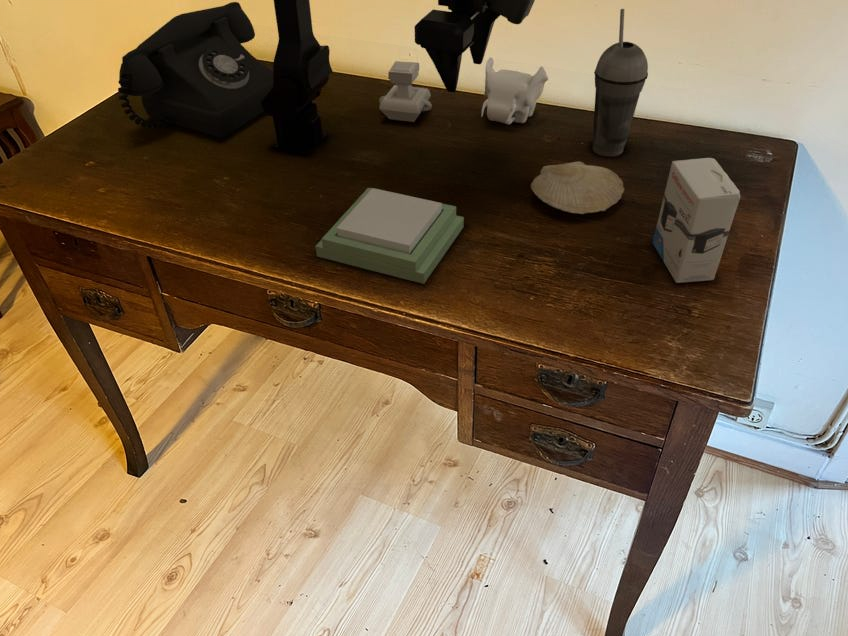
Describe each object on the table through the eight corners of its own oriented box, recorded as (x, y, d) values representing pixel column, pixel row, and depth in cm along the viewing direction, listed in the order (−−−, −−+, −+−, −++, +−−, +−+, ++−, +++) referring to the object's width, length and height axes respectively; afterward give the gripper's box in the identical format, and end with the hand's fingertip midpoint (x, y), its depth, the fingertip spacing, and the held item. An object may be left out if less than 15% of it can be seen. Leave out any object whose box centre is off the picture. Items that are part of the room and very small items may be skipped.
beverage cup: (633, 162, 107) (662, 20, 93) (582, 159, 108) (603, 18, 94) (632, 138, 112) (659, 0, 98) (583, 135, 113) (603, -2, 99)
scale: (316, 256, 94) (313, 237, 92) (363, 204, 102) (361, 185, 100) (424, 284, 89) (423, 264, 87) (463, 227, 97) (464, 207, 95)
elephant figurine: (465, 128, 116) (466, 73, 110) (497, 98, 123) (500, 44, 117) (521, 141, 113) (525, 85, 106) (550, 109, 120) (556, 54, 114)
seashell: (596, 233, 95) (599, 214, 93) (515, 206, 100) (517, 187, 98) (631, 192, 101) (635, 173, 99) (554, 169, 106) (556, 151, 104)
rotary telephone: (235, 69, 137) (218, -17, 126) (310, 87, 129) (298, -2, 119) (111, 140, 119) (79, 46, 108) (190, 165, 112) (164, 68, 101)
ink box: (650, 242, 93) (670, 158, 84) (688, 239, 93) (712, 155, 85) (674, 284, 87) (698, 198, 78) (715, 281, 87) (743, 194, 79)
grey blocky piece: (437, 110, 121) (437, 59, 115) (426, 129, 117) (425, 77, 111) (386, 104, 124) (383, 54, 118) (373, 122, 119) (369, 71, 113)
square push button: (337, 238, 92) (336, 227, 91) (373, 197, 98) (372, 187, 97) (409, 255, 89) (409, 245, 88) (441, 213, 95) (441, 202, 94)
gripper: (506, -21, 77) (498, 118, 88) (559, -70, 89) (545, 58, 100) (411, -32, 81) (414, 103, 92) (473, -78, 93) (469, 47, 104)
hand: (465, 77), depth 97 cm, fingers open, 9 cm apart
